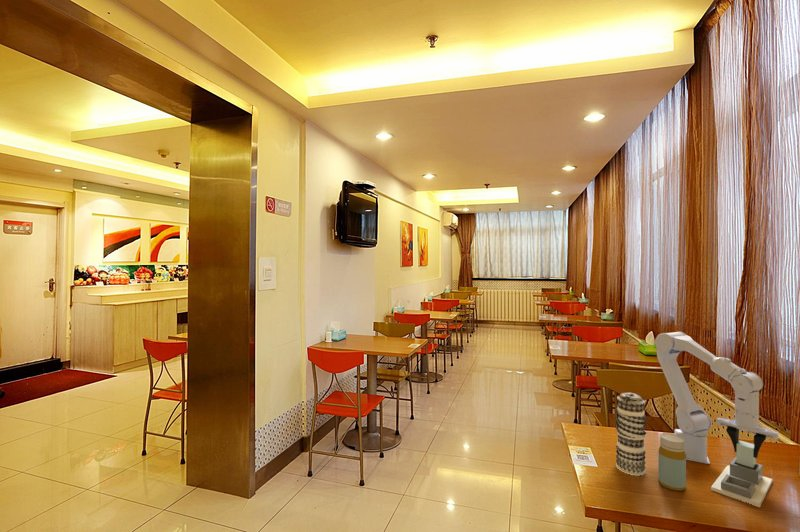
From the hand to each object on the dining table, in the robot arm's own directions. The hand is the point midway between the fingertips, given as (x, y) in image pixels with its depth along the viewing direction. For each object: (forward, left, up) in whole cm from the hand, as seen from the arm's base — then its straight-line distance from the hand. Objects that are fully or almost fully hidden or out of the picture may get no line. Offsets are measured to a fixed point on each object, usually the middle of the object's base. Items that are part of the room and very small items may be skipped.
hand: (746, 454), depth 125 cm
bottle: (-21, -15, -8) cm, 27 cm away
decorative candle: (-32, -10, -8) cm, 35 cm away
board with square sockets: (-2, -5, -8) cm, 10 cm away
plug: (0, 0, -3) cm, 3 cm away
